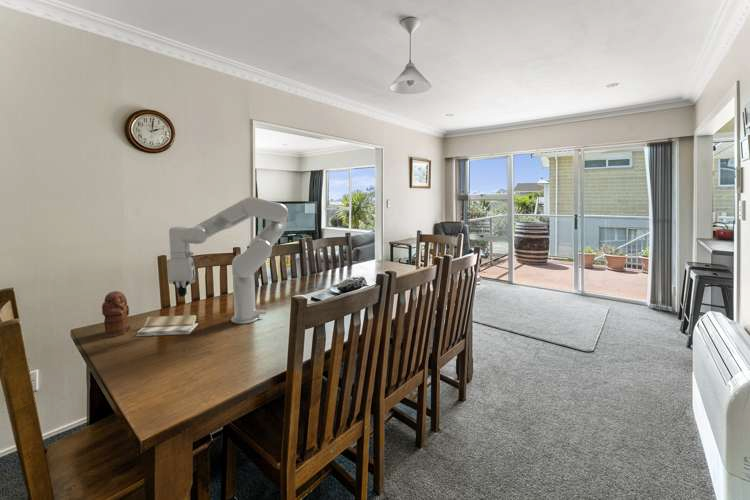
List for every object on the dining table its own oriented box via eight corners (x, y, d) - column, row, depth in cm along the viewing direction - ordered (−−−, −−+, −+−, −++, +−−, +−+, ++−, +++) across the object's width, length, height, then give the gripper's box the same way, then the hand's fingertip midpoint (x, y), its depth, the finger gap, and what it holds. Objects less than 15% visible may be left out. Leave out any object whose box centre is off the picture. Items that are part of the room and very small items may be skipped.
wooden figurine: (120, 337, 150) (116, 295, 147) (103, 338, 149) (98, 295, 146) (133, 326, 161) (130, 287, 158) (117, 327, 160) (113, 288, 157)
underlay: (198, 324, 166) (198, 323, 166) (189, 333, 154) (189, 333, 154) (148, 326, 162) (148, 325, 162) (135, 336, 151) (135, 335, 151)
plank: (196, 317, 165) (195, 315, 164) (193, 326, 161) (192, 325, 160) (148, 318, 162) (147, 317, 161) (144, 329, 157) (143, 327, 157)
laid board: (192, 328, 160) (192, 325, 159) (188, 332, 154) (188, 329, 154) (143, 330, 156) (143, 327, 156) (137, 335, 151) (136, 332, 151)
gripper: (201, 253, 162) (203, 293, 165) (165, 253, 160) (167, 294, 163) (195, 256, 155) (197, 298, 158) (158, 256, 153) (160, 298, 155)
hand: (182, 295), depth 160 cm, fingers closed
